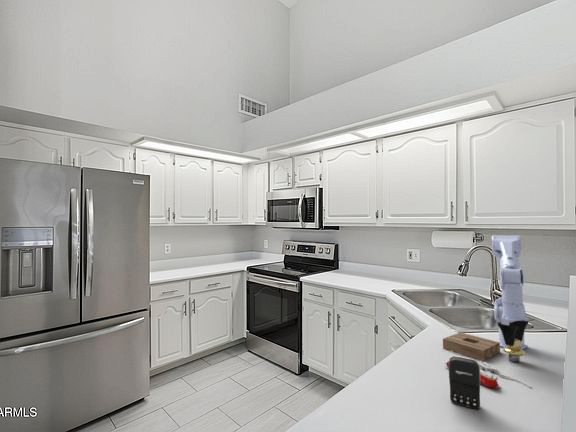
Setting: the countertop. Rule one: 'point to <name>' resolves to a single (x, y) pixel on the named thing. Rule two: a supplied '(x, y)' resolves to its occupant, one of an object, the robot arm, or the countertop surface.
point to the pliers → (499, 373)
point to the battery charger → (464, 381)
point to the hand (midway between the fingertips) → (513, 342)
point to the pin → (514, 351)
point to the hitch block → (471, 346)
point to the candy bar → (485, 379)
